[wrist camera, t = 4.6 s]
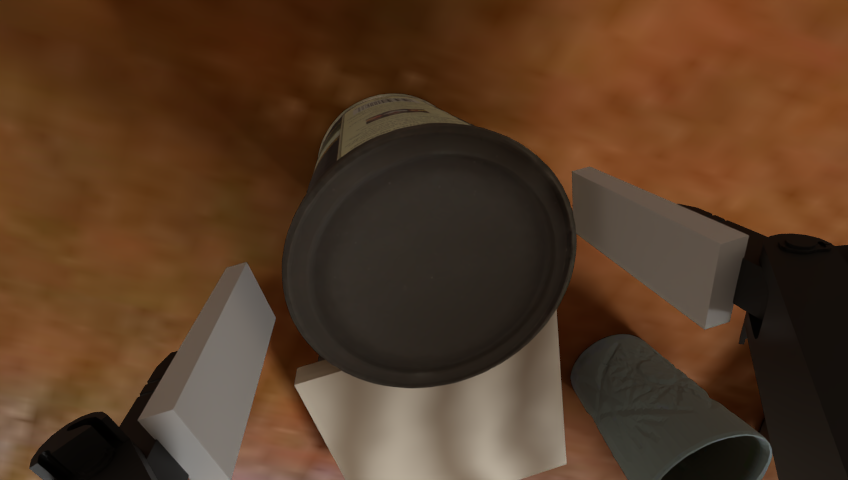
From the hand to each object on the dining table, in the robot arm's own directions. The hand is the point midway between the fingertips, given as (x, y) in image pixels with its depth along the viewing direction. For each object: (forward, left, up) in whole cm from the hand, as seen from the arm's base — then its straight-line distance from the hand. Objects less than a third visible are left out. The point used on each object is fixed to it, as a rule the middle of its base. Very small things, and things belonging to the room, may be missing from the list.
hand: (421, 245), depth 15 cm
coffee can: (0, 0, -12) cm, 12 cm away
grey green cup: (-16, +25, -12) cm, 32 cm away
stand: (+1, +19, -12) cm, 23 cm away
